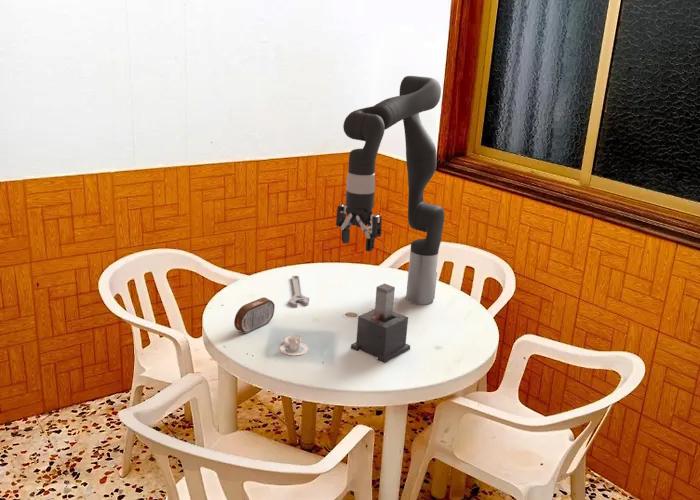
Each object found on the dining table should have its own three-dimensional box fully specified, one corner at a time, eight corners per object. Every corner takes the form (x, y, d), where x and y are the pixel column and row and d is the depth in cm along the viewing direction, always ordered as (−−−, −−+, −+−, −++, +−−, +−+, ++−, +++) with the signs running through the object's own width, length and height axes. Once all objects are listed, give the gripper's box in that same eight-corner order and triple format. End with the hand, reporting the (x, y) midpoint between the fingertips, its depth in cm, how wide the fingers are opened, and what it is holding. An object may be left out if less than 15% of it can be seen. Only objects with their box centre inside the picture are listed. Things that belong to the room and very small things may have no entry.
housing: (377, 335, 199) (379, 300, 195) (410, 349, 192) (413, 313, 188) (350, 348, 190) (353, 312, 186) (384, 363, 183) (387, 326, 179)
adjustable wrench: (291, 279, 238) (291, 274, 238) (309, 280, 239) (309, 275, 238) (288, 308, 214) (289, 303, 214) (309, 308, 215) (309, 303, 214)
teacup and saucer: (282, 341, 192) (282, 328, 191) (309, 343, 192) (310, 330, 191) (277, 355, 184) (278, 342, 183) (306, 357, 184) (307, 344, 183)
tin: (268, 318, 205) (269, 293, 203) (276, 321, 204) (276, 296, 201) (233, 334, 194) (233, 308, 191) (241, 338, 192) (241, 311, 189)
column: (379, 344, 193) (384, 283, 187) (390, 348, 191) (395, 287, 185) (371, 348, 191) (375, 286, 184) (381, 353, 188) (387, 290, 182)
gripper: (390, 192, 176) (386, 250, 181) (350, 181, 185) (347, 237, 190) (371, 197, 170) (368, 256, 176) (331, 185, 179) (328, 243, 185)
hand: (357, 246), depth 183 cm, fingers open, 8 cm apart
